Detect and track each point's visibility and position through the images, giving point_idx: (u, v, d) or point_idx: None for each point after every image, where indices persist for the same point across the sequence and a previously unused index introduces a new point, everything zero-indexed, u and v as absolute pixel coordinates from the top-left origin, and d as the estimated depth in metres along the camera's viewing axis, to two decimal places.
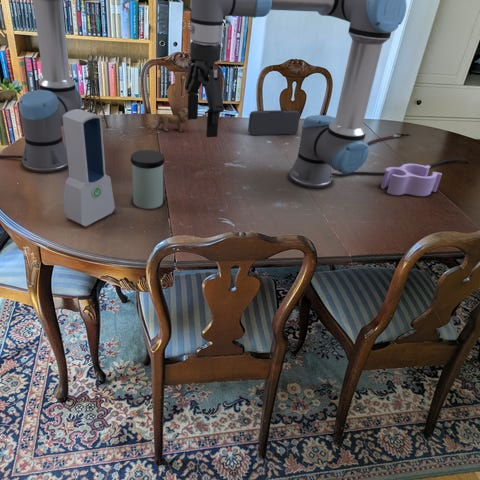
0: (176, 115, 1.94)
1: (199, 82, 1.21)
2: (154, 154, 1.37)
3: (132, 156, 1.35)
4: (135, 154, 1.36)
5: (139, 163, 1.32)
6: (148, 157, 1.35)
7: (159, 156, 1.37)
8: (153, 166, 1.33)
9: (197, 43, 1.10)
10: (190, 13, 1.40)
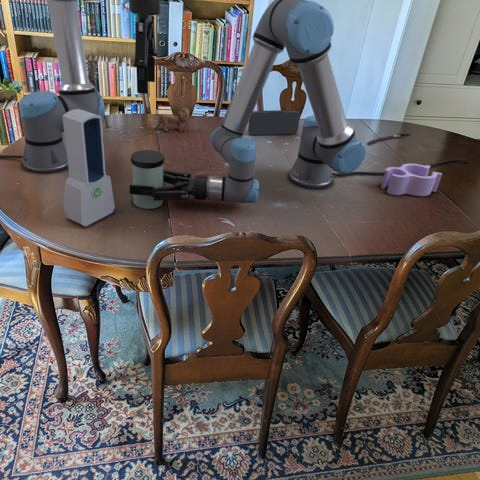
0: (176, 115, 1.94)
1: None
2: (154, 154, 1.37)
3: (132, 156, 1.35)
4: (135, 154, 1.36)
5: (139, 163, 1.32)
6: (148, 157, 1.35)
7: (159, 156, 1.37)
8: (153, 166, 1.33)
9: None
10: None
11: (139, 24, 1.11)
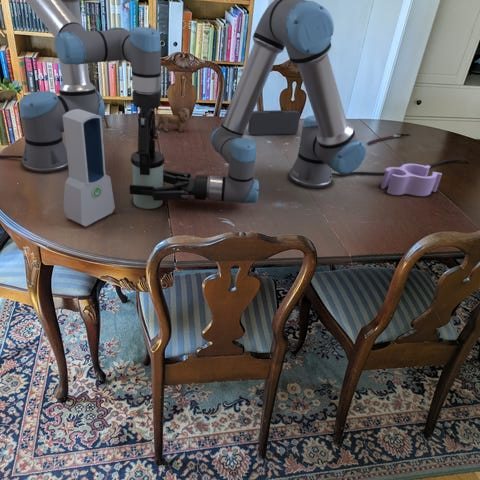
0: (176, 115, 1.94)
1: None
2: (154, 154, 1.37)
3: (132, 156, 1.35)
4: (135, 154, 1.36)
5: (139, 163, 1.32)
6: None
7: (159, 156, 1.37)
8: (153, 166, 1.33)
9: None
10: None
11: (141, 120, 1.23)
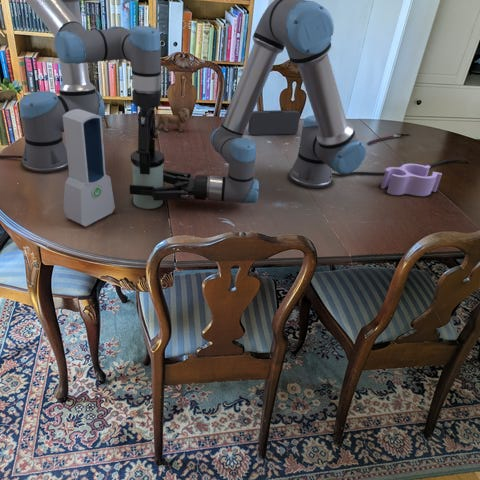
0: (176, 115, 1.94)
1: None
2: None
3: (152, 161, 1.33)
4: None
5: (163, 158, 1.36)
6: (150, 154, 1.36)
7: None
8: None
9: None
10: None
11: (141, 119, 1.23)
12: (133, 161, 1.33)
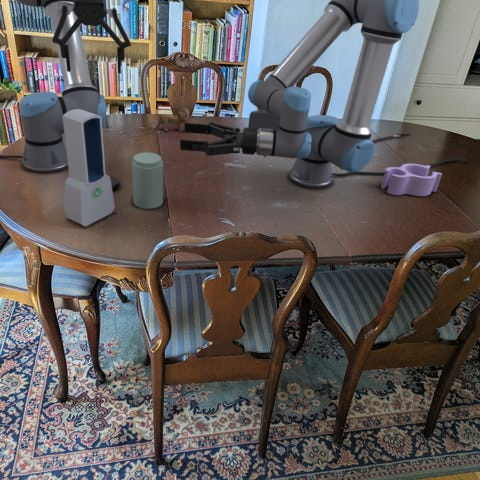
0: (176, 115, 1.94)
1: None
2: None
3: (115, 178, 1.52)
4: (114, 180, 1.50)
5: None
6: None
7: None
8: None
9: None
10: None
11: (116, 10, 1.24)
12: (113, 188, 1.47)
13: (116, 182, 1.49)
